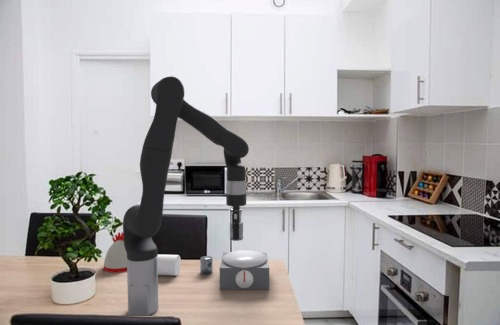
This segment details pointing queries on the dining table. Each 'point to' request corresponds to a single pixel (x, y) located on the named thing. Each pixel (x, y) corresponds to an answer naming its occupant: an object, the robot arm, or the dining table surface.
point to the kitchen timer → (116, 256)
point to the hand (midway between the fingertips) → (236, 236)
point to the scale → (244, 271)
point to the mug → (169, 264)
